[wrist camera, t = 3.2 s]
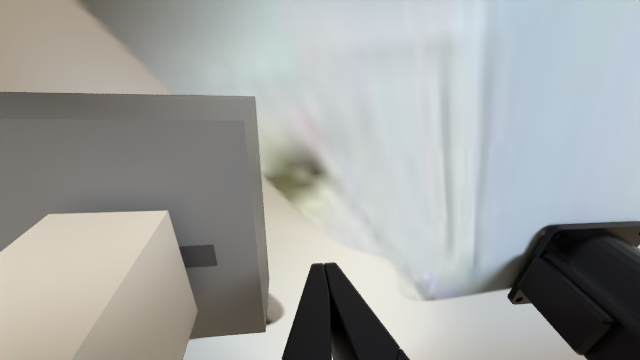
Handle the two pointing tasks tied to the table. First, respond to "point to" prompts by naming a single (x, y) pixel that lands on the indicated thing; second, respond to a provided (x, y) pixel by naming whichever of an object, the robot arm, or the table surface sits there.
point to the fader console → (149, 183)
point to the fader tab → (95, 289)
